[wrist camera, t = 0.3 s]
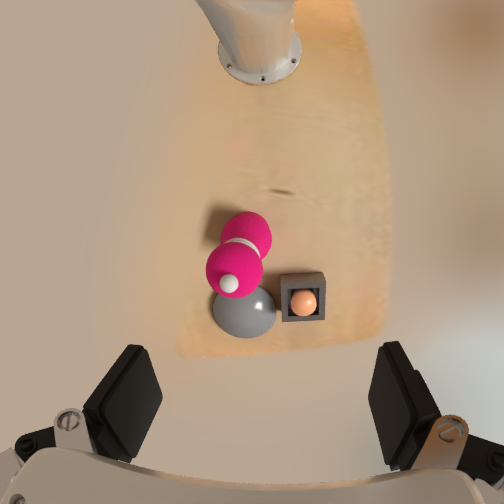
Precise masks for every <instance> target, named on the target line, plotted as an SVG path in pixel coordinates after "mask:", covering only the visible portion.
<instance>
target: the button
mask: <svg viewBox="0 0 504 504" xmlns="http://www.w3.org/2000/svg"><path fill="white" fill-rule="evenodd" d="M316 305H317V303H316V299H315V294H314V292H313V291H312V290H311V289H310V288H300V289H295V290H294V291H293V292H292V294H291V309H292V311H293V312H294V313H295V314H296V315H299V316H307V315H310V314H312V313H313V312H314V311H315V309H316Z"/></svg>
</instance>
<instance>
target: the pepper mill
mask: <svg viewBox="0 0 504 504" xmlns="http://www.w3.org/2000/svg"><path fill="white" fill-rule="evenodd" d="M271 243H272V235H271V231H270V229H269V227H268V224H267V222H266V221H265V219H264V218H263V217H262V216H260V215H258V214H256V213H253V212H245V213H242V214H240V215H238V216H235V217H233V218H232V219H230V220H229V221H228V222H227V223H226V225H225V227H224V229H223V231H222V235H221V245H220V246H218V247H217V248H216V249H215V250H214V251H213V252H212V253H211V254H210V256H209V258H208V260H207V264H206V276H207V280H208V282H209V284H210V286H211V287H212V289H213V290H214V291H216V292H217V293H218V294H220V295H222V296H224V297H227V298H242V297H245V296H247V295H249V294H251V293H252V292H253V291H254V290H255V289H256V288H257V287H258V285H259V283H260V281H261V278H262V274H263V266H262V261H261V260H262V259H263V258H264V257H265V256H266V255H267V253H268V251H269V249H270V247H271Z"/></svg>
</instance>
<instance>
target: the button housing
mask: <svg viewBox="0 0 504 504" xmlns="http://www.w3.org/2000/svg"><path fill="white" fill-rule="evenodd" d="M280 284H281V307H282V322H293V321H313V320H325V294H326V280H325V277H324V274H323V272H321V273H301V274H281V279H280ZM300 288H310V289H311V290H312V291H313V292H314V294H315V299H316V303H317V305H316V309H315V311H314V312H313V313H312V314H310V315H307V316H299V315H296V314H295V313H294V312H293V311H292V309H291V294H292V292H293V291H294V290H295V289H300Z"/></svg>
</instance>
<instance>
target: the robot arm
mask: <svg viewBox="0 0 504 504" xmlns="http://www.w3.org/2000/svg"><path fill="white" fill-rule="evenodd" d="M195 1H196V2H197V3H198V5H199V6H200V7H201V9H202V10H203V12H204V13H205V15H206V17H207V18H208V20H209V21H210V23H211V25H212V27H213V29H214V31H215V32H216V34H217V36H218V37H219V39H220V42H219V45H218V55H219V60H220V62H221V64H222V66H223V67H224V69H225V70H226V71H227V72H228V73H229V74H230V75H231V76H232V77H234V78H235V79H237V80H240V81H241V82H244V83H248V84H253V85H267V84H272V83H275V82H278V81H280V80H282V79H284V78H286V77H287V76H288V75H290V74H291V73H292V72H293V71H294V69H295V68H296V67H297V65H298V63H299V61H300V58H301V52H302V47H301V41H300V39H299V36H298V35H297V33H296V32H295V30H294V19H295V9H296V0H195ZM292 61H294V62H295V63H292ZM229 66H231V68H229ZM262 79H265V80H264V81H261V80H262ZM368 400H369V405H370V408H371V412H372V415H373V419H374V422H375V426H376V430H377V434H378V437H379V441H380V445H381V449H382V453H383V457H384V462H385V464H386V465H390V469H391V471H394V470H398V469H400V471H399V472H394V473H388V474H382V475H376V476H370V477H365V478H357V479H349V480H341V481H332V482H320V483H305V484H250V483H234V482H223V481H214V480H206V479H199V478H192V477H186V476H180V475H174V474H169V473H164V472H160V471H155V470H150V469H147V468H143V467H139V466H135V465H131V464H128V463H130V462H131V460H132V458H135V457H136V456H137V454H138V452H139V449H140V447H141V445H142V443H143V441H144V439H145V436H146V434H147V432H148V430H149V428H150V426H151V423H152V421H153V419H154V417H155V415H156V413H157V410H158V408H159V406H160V404H161V402H162V392H161V389H160V387H159V384H158V381H157V378H156V376H155V373H154V369H153V367H152V364H151V361H150V358H149V354H148V352H147V350H146V349H144V347H143V346H141V345H132V344H130V345H128V346H127V347H126V349H125V350H124V351H123V353H122V354H121V355H120V356H119V358H118V359H117V360H116V362H115V363H114V365H113V366H112V367H111V368H110V370H109V371H108V373H107V374H106V375H105V377H104V378H103V379H102V381H101V382H100V383H99V385H98V386H97V388H96V389H95V390H94V392H93V393H92V395H91V396H90V397H89V399H88V400H87V401H86V403H85V404H84V406H83V408H84V409H83V410H82V412H81V411H80V410H78V409H75V408H69V409H65V410H63V411H61V412H60V413H59V414H58V415H57V416H56V417H55V419H54V426H52V427H49V428H46V429H42V430H39V431H35V432H32V433H28V434H25V435H22V436H21V437H20V438H19V439H18V440H17V441H16V444H15V449H14V450H13V449H12V448H9V449H7V450H6V451H4V452H2V453H0V504H504V446H503V445H500V444H497V443H494V442H490V441H488V440H485V439H482V438H479V437H476V436H473V435H470V434H468V433H469V428H468V425H467V423H466V421H465V420H463V419H462V418H461V417H459V416H456V415H445V416H442V415H441V413H440V411H439V409H438V407H437V405H436V403H435V401H434V399H433V397H432V395H431V393H430V391H429V389H428V387H427V385H426V383H425V381H424V379H423V378H422V376H421V374H420V372H419V371H418V370H414V369H413V367H412V365H411V363H410V361H409V359H408V357H407V356H406V354H405V352H404V350H403V348H402V346H401V345H400V343H399V342H398V341H392V342H385V343H384V344H383V346H382V347H379V350H378V355H377V359H376V364H375V369H374V373H373V377H372V382H371V386H370V390H369V395H368ZM118 460H120V461H123V462H120V461H118ZM124 462H127V463H124Z"/></svg>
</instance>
